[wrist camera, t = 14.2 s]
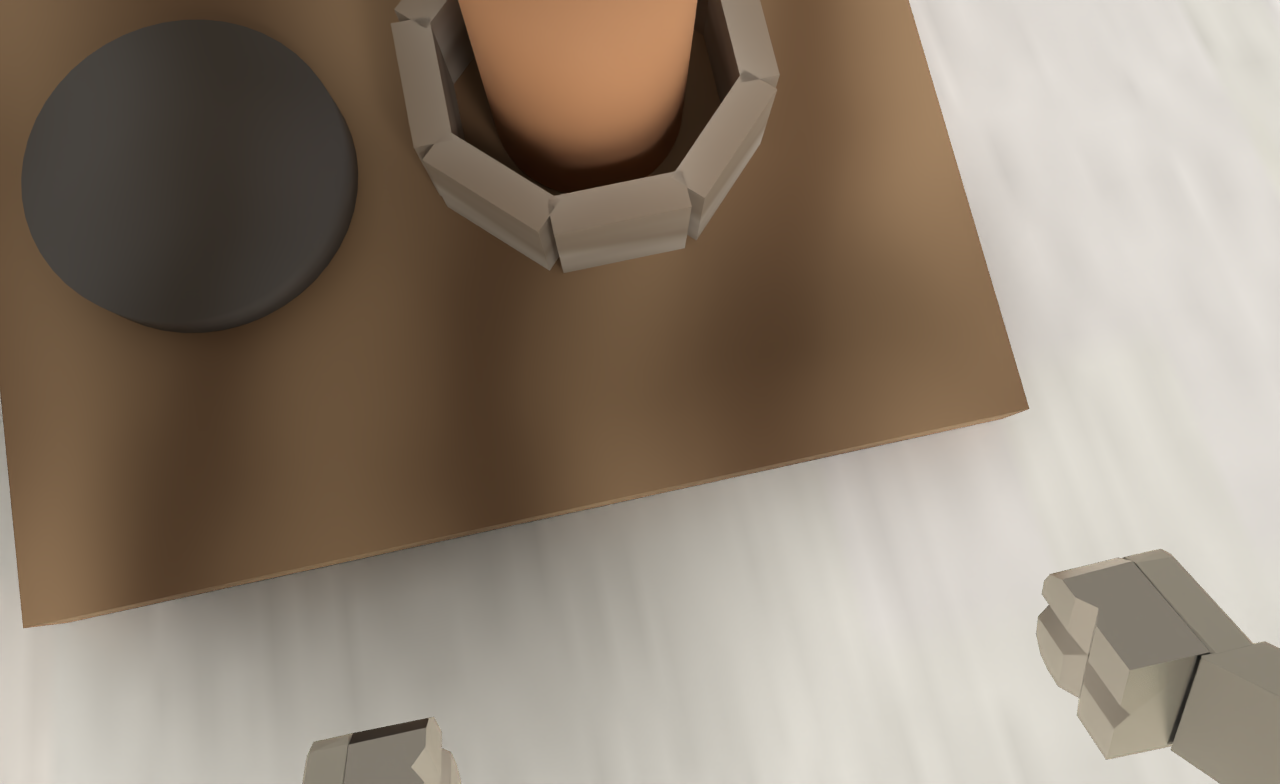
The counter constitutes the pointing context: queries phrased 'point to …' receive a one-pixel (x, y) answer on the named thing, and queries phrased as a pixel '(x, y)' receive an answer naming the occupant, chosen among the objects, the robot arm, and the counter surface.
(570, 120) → the hub peg
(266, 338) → the carrier board
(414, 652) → the counter surface
